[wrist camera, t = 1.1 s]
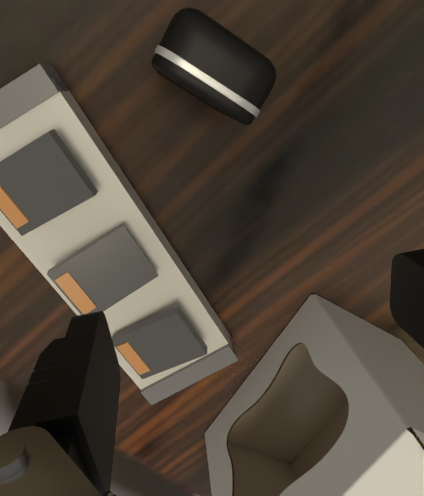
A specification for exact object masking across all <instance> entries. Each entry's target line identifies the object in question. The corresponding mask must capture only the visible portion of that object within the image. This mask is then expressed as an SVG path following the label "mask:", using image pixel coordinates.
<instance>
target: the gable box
mask: <svg viewBox="0 0 424 496" xmlns="http://www.w3.org/2000/svg"><path fill="white" fill-rule="evenodd" d="M408 429H409V430H410V431H409V430H408ZM205 441H206V449H207V457H208V466H209V474H210V483H211V491H212V496H424V364H423V363H422V362H421V361H420V360H419V359H418V358H417V357H416V356H415V355H414V354H413V352H412V351H411V350H410V349H409V348H408V347H407V346H406V345H405V344H404V343H403V342H402V341H401V340H400V339H398V338H396V337H395V336H393V335H391V334H389V333H387V332H385V331H383V330H382V329H380V328H378V327H376V326H374V325H372V324H370V323H368V322H367V321H365V320H363V319H361V318H359V317H357V316H355V315H354V314H352V313H350V312H348V311H346V310H344V309H342V308H341V307H339V306H337V305H335V304H333V303H331V302H329V301H327V300H326V299H324V298H322V297H320V296H318V295H316V294H313V295H310V296H309V298H308V299H307V300H306V301H305V303H304V304H303V305H302V307H301V308H300V309H299V311H298V312H297V313H296V315H295V316H294V317H293V318H292V320H291V321H290V322H289V324H288V325H287V326H286V328H285V329H284V330H283V332H282V333H281V334H280V335H279V337H278V338H277V339H276V341H275V342H274V343H273V345H272V346H271V347H270V349H269V350H268V351H267V352H266V354H265V355H264V356H263V358H262V359H261V360H260V362H259V363H258V364H257V366H256V367H255V368H254V369H253V371H252V372H251V373H250V375H249V376H248V377H247V379H246V380H245V381H244V383H243V384H242V385H241V386H240V388H239V389H238V390H237V392H236V393H235V394H234V396H233V397H232V398H231V400H230V401H229V402H228V403H227V405H226V406H225V407H224V409H223V410H222V411H221V413H220V414H219V415H218V417H217V418H216V419H215V420H214V422H213V423H212V424H211V426H210V427H209V428H208V430H207V431H206V432H205ZM290 462H291V464H290Z"/></svg>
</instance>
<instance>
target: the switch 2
mask: <svg viewBox="0 0 424 496" xmlns="http://www.w3.org/2000/svg"><path fill="white" fill-rule="evenodd" d="M112 341H113V344H114V346H115V348H116V349H117V350H118V351H119V352H120V354H121V355H122V356H123V357H124V358H125V360H126V361H127V362H128V363H129V364H130V365H131V367H132V368H133V369H134V370H135V371H136V373H137V374H138V375H139V376H140V377H141V379H145V378H147V377H150V376H153V375H155V374H158V373H160V372H163V371H165V370H168V369H171V368H173V367H176V366H178V365H181V364H184V363H186V362H189V361H191V360H194V359H196V358H199V357H202V356H204V355H207V348H208V347H207V345H206V344H205V342H204V341H203V339H202V338H201V337H200V335H199V334H198V332H197V331H196V330H195V328H194V327H193V325H192V324H191V322H190V321H189V320H188V318H187V317H186V315H185V314H184V312H183V311H182V310H181V308H180V307H179V306H177V307H175V308H172V309H170V310H168V311H165V312H163V313H161V314H158V315H156V316H154V317H151V318H149V319H147V320H145V321H142V322H140V323H138V324H135V325H133V326H131V327H128V328H126V329H124V330H121V331H119V332H117V333H115V334H113V336H112Z"/></svg>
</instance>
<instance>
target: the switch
mask: <svg viewBox="0 0 424 496" xmlns="http://www.w3.org/2000/svg"><path fill="white" fill-rule="evenodd" d="M97 193H98V190H97V189H96V187H95V186H94V185H93V183H92V182H91V180H90V179H89V177H88V176H87V175H86V173H85V172H84V170H83V169H82V167H81V166H80V165H79V163H78V162H77V160H76V159H75V158H74V156H73V155H72V153H71V152H70V150H69V149H68V148H67V146H66V145H65V143H64V142H63V140H62V139H61V138H60V136H59V135H58V133H57V132H56V131H55V129H53V130H50V131H48V132H47V133H45V134H44V135H42V136H40V137H39V138H37V139H36V140H34V141H32V142H31V143H29V144H28V145H26V146H24V147H23V148H21V149H20V150H18V151H16V152H15V153H13V154H12V155H10V156H9V157H7V158H5V159H4V160H2V161H1V162H0V211H1V212H2V213H3V214H4V216H5V217H6V218H7V219H8V220H9V222H10V223H11V224H12V225H13V226H14V228H15V229H16V230H17V231H18V232H19V233H20V235H21V236H23V235H25V234H27V233H28V232H30V231H32V230H34V229H36V228H38V227H39V226H41V225H43V224H45V223H47V222H48V221H50V220H52V219H54V218H56V217H57V216H59V215H61V214H63V213H65V212H67V211H68V210H70V209H72V208H74V207H76V206H77V205H79V204H81V203H83V202H85V201H86V200H88V199H90V198H92V197H94V196H95V195H96V194H97Z"/></svg>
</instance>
